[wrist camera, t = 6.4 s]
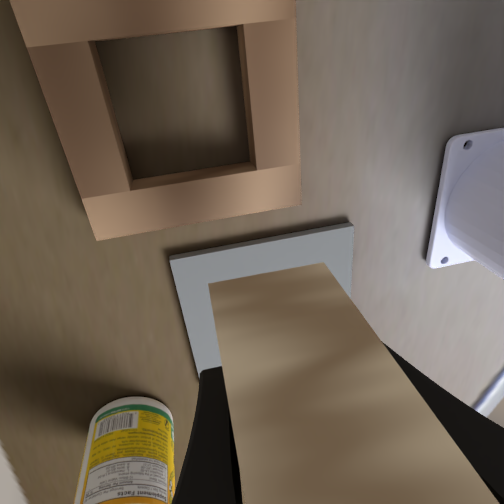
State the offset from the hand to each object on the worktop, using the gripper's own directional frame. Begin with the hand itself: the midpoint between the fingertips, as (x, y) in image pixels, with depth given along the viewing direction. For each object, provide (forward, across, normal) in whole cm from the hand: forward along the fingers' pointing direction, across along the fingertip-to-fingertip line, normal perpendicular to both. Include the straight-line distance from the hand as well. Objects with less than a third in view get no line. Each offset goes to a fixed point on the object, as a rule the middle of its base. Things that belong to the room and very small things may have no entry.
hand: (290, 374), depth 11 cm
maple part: (+2, 0, 0) cm, 3 cm away
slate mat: (+9, -1, +5) cm, 11 cm away
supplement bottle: (+10, +9, +12) cm, 18 cm away
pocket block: (+9, +2, -7) cm, 12 cm away
